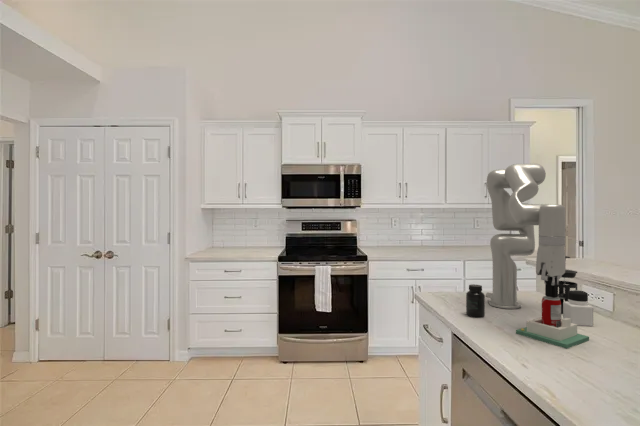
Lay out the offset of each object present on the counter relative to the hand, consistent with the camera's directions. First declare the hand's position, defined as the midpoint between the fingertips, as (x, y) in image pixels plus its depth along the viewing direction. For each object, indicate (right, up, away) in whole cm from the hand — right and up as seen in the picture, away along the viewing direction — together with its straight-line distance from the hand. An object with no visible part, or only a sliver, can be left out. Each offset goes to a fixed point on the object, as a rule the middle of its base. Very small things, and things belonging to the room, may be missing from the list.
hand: (551, 296), depth 122 cm
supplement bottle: (-15, -14, +25) cm, 32 cm away
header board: (0, -13, 0) cm, 13 cm away
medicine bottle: (+19, -14, +15) cm, 28 cm away
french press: (+24, -13, +30) cm, 41 cm away
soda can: (0, -12, 0) cm, 12 cm away
